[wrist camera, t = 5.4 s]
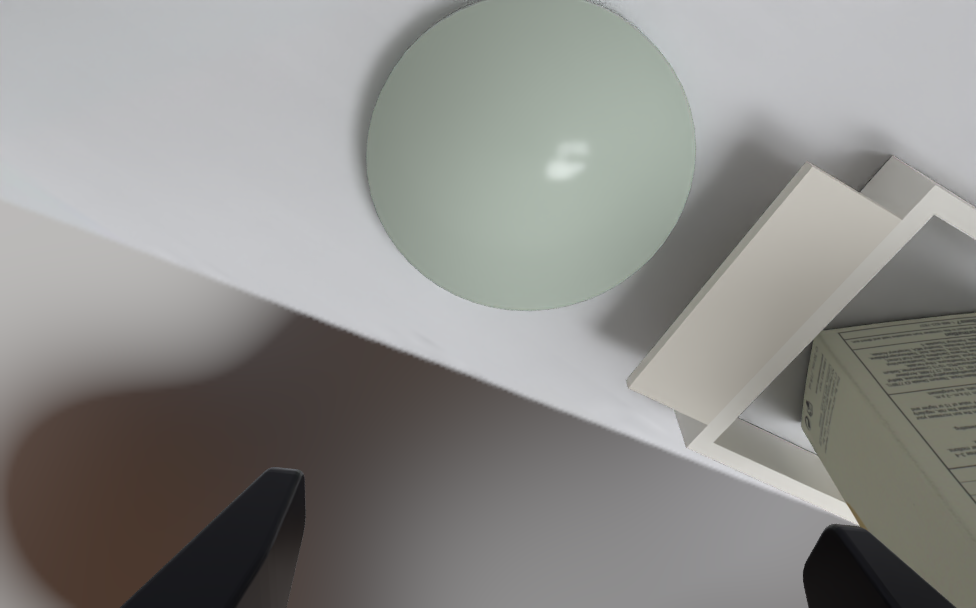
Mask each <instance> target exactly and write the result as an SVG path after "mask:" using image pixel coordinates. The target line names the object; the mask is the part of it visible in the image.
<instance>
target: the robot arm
mask: <svg viewBox="0 0 976 608" xmlns="http://www.w3.org/2000/svg"><path fill="white" fill-rule="evenodd" d="M305 515H306V509H305V477H304V474H303V472H302V471H300V470H297V469H286V468H277V467H272V468H269V469H267V470H266V471H265V472H264V473H262V474H261V476H259V477H258V478H257V479H256V480H255V481H254V482H253V483H252V484H251V485H250V486H249V487H248V488H247V489H245V491H243V492H242V493H241V494H240V495H239V496H238V497H237V498H236V499H235V500H234V501H233V502H232V503H231V504H230V505H229V506H227V507H226V508H225V509H224V510H223V511H222V512H221V513H220V514H219V515H218V516H217V517H216V518H215V519H214V520H213V521H212V522H210V523H209V524H208V525H207V526H206V527H205V528H204V529H203V530H202V531H201V532H200V533H199V534H198V535H197V536H196V537H194V538H193V539H192V540H191V541H190V542H189V543H188V544H187V545H186V546H185V547H184V548H183V549H182V550H181V551H180V552H179V553H178V554H177V555H176V556H175V557H173V558H172V559H171V560H170V561H169V562H168V563H167V564H166V565H165V566H164V567H163V568H162V569H160V570H159V571H158V572H157V573H156V574H155V575H154V576H153V577H152V578H151V579H150V580H149V581H148V582H147V583H146V584H145V585H144V586H142V587H141V588H140V589H139V590H138V591H137V592H136V593H135V594H134V595H133V596H132V597H131V598H130V599H129V600H128V601H126V602H125V603H124V604H123V605H122V606H121V607H120V608H287V603H288V599H289V594H290V590H291V585H292V581H293V577H294V573H295V568H296V564H297V560H298V555H299V551H300V547H301V542H302V538H303V533H304V528H305V518H306V516H305ZM803 583H804V588H805V593H806V598H807V602H808V607H809V608H956V607H955V606H954V605H953V604H952V603H951V602H949V601H948V600H947V599H946V598H945V597H944V596H943V595H941V594H940V593H939V592H938V591H937V590H936V589H935V588H933V587H932V586H931V585H930V584H929V583H928V582H927V581H925V580H924V579H923V578H922V577H921V576H920V575H918V574H917V573H916V572H915V571H914V570H913V569H912V568H910V567H909V566H908V565H907V564H906V563H905V562H904V561H902V560H901V559H900V558H899V557H898V556H897V555H895V554H894V553H893V552H892V551H891V550H890V549H889V548H887V547H886V546H885V545H884V544H883V543H882V542H881V541H879V540H878V539H877V538H876V537H875V536H874V535H872V534H871V533H870V532H869V531H867V530H866V529H864V528H862V527H859V526H850V525H840V524H831V525H829V526H828V527H826V528H825V530H824V531H823V533H822V534H821V536H820V538H819V540H818V541H817V543H816V545H815V547H814V549H813V550H812V552H811V554H810V556H809V557H808V559H807V561H806V563H805V566H804V570H803Z"/></svg>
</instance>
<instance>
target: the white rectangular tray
mask: <svg viewBox="0 0 976 608" xmlns="http://www.w3.org/2000/svg"><path fill="white" fill-rule="evenodd" d="M934 215H935V216H937V217H939V218H940V219H942V220H944V221H945V222H947V223H948V224H950V225H952V226H953V227H955V228H957V229H958V230H960V231H961V232H963V233H965V234H966V235H968V236H970V237H971V238H973V239H975V240H976V207H975V206H973V205H971V204H970V203H968V202H967V201H965V200H963V199H962V198H960V197H959V196H957V195H956V194H954V193H952V192H951V191H949V190H948V189H946V188H944V187H943V186H941V185H940V184H938V183H936V182H935V181H933V180H932V179H930V178H928V177H927V176H925V175H924V174H922V173H921V172H919V171H917V170H916V169H914V168H913V167H911V166H909V165H908V164H906V163H905V162H903V161H901V160H900V159H898V158H897V157H895V156H894V155H893V156H892V157H891V158H890V159H889V160H888V161H887V162H886V163H885V165H884V166H883V167H882V168H881V169H880V170H879V171H878V172H877V174H876V175H875V176H874V177H873V178H872V179H871V180H870V181H869V183H868V184H867V185H866V186H865V187H864V188H863V189H862V190H861V191H860V193H859V192H858V191H856V190H854V189H853V188H851V187H849V186H848V185H846V184H844V183H843V182H841V181H839V180H838V179H836V178H835V177H833V176H831V175H830V174H828V173H826V172H825V171H823V170H821V169H820V168H818V167H816V166H815V165H813V164H811V163H810V162H808V161H806V162H805V164H804V165H803V166H802V167H801V168H800V170H799V171H798V172H797V173H796V174H795V176H794V177H793V178H792V179H791V181H790V182H789V183H788V184H787V185H786V187H785V188H784V189H783V190H782V191H781V193H780V194H779V195H778V196H777V198H776V199H775V200H774V201H773V202H772V204H771V205H770V206H769V207H768V208H767V210H766V211H765V212H764V213H763V215H762V216H761V217H760V218H759V219H758V221H757V222H756V223H755V224H754V225H753V227H752V228H751V229H750V230H749V232H748V233H747V234H746V235H745V236H744V238H743V239H742V240H741V241H740V242H739V244H738V245H737V246H736V247H735V249H734V250H733V251H732V252H731V253H730V255H729V256H728V257H727V258H726V259H725V261H724V262H723V263H722V264H721V265H720V267H719V268H718V269H717V270H716V272H715V273H714V274H713V275H712V276H711V278H710V279H709V280H708V281H707V282H706V284H705V285H704V286H703V287H702V289H701V290H700V291H699V292H698V293H697V295H696V296H695V297H694V298H693V299H692V301H691V302H690V303H689V304H688V306H687V307H686V308H685V309H684V310H683V312H682V313H681V314H680V315H679V316H678V318H677V319H676V320H675V321H674V323H673V324H672V325H671V326H670V327H669V329H668V330H667V331H666V332H665V333H664V335H663V336H662V337H661V338H660V340H659V341H658V342H657V343H656V344H655V346H654V347H653V348H652V349H651V350H650V352H649V353H648V354H647V355H646V356H645V358H644V359H643V360H642V361H641V363H640V364H639V365H638V366H637V367H636V369H635V370H634V371H633V372H632V373H631V375H630V376H629V377H628V378H627V380H626V382H627V386H628V388H629V389H631V390H633V391H635V392H637V393H639V394H641V395H644V396H646V397H648V398H650V399H652V400H654V401H657V402H659V403H661V404H663V405H665V406H667V407H670V408H672V409H674V412H675V415H676V418H677V421H678V424H679V427H680V430H681V433H682V436H683V439H684V442H685V446H686V448H688V449H690V450H692V451H694V452H696V453H699V454H701V455H703V456H705V457H708V458H710V459H712V460H714V461H716V462H719V463H721V464H723V465H725V466H728V467H730V468H732V469H734V470H736V471H739V472H741V473H743V474H745V475H748V476H750V477H752V478H754V479H756V480H759V481H761V482H763V483H765V484H768V485H770V486H772V487H774V488H776V489H779V490H781V491H783V492H785V493H788V494H790V495H792V496H794V497H797V498H799V499H801V500H803V501H805V502H808V503H810V504H812V505H814V506H817V507H819V508H821V509H823V510H825V511H828V512H830V513H832V514H834V515H837V516H839V517H841V518H843V519H845V520H848V521H850V522H852V523H854V524H857V525H859V524H858V522H857V521H856V519H855V517H854V516H853V514H852V512H851V510H850V509H849V507H848V505H847V504H846V502H845V501H844V499H843V497H842V495H841V494H840V492H839V490H838V489H837V487H836V485H835V484H834V482H833V480H832V479H831V477H830V475H829V474H828V472H827V470H826V469H825V467H824V465H823V464H822V462H821V460H820V459H819V457H818V456H817V455H815V454H813V453H811V452H809V451H807V450H805V449H803V448H801V447H798V446H796V445H794V444H792V443H790V442H788V441H786V440H784V439H781V438H779V437H777V436H775V435H773V434H771V433H769V432H767V431H765V430H762V429H760V428H758V427H756V426H754V425H752V424H750V423H748V422H746V421H743V420H741V419H739V418H738V416H739V415H740V414H741V413H742V412H743V411H744V410H745V409H746V408H747V407H748V406H749V405H750V404H751V403H752V402H753V401H754V400H755V399H756V398H757V397H758V396H759V395H760V394H761V393H762V392H763V391H764V390H765V389H766V388H767V387H768V386H769V385H770V384H771V382H772V381H773V380H774V379H775V378H776V377H777V376H778V375H779V374H780V373H781V372H782V371H783V370H784V369H785V368H786V367H787V366H788V365H789V364H790V363H791V362H792V361H793V360H794V359H795V358H796V357H797V356H798V355H799V354H800V353H801V352H802V351H803V350H804V348H805V347H806V346H807V345H808V344H809V343H810V342H811V341H812V340H813V339H814V338H815V337H816V336H817V335H818V334H819V333H820V332H821V331H822V330H823V329H824V328H825V327H826V326H827V325H828V324H829V323H830V322H831V321H832V320H833V319H834V318H835V317H836V315H837V314H838V313H839V312H840V311H841V310H842V309H843V308H844V307H845V306H846V305H847V304H848V303H849V302H850V301H851V300H852V299H853V298H854V297H855V296H856V295H857V294H858V293H859V292H860V291H861V290H862V289H863V288H864V287H865V286H866V285H867V284H868V283H869V281H870V280H871V279H872V278H873V277H874V276H875V275H876V274H877V273H878V272H879V271H880V270H881V269H882V268H883V267H884V266H885V265H886V264H887V263H888V262H889V261H890V260H891V259H892V258H893V257H894V256H895V255H896V254H897V253H898V252H899V251H900V250H901V249H902V247H903V246H904V245H905V244H906V243H907V242H908V241H909V240H910V239H911V238H912V237H913V236H914V235H915V234H916V233H917V232H918V231H919V230H920V229H921V228H922V227H923V226H924V225H925V224H926V223H927V222H928V221H929V220H930V219H931V218H932V217H933V216H934Z"/></svg>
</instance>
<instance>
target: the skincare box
mask: <svg viewBox="0 0 976 608" xmlns="http://www.w3.org/2000/svg"><path fill="white" fill-rule="evenodd" d="M801 427H802V430H803V431H804V433H805V435H806V436H807V438H808V440H809V441H810V443H811V445H812V446H813V448H814V450H815V452H816V453H817V455H818V457H819V459H820V460H821V462H822V464H823V465H824V467H825V469H826V470H827V472H828V474H829V475H830V477H831V479H832V480H833V482H834V484H835V485H836V487H837V489H838V490H839V492H840V494H841V495H842V497H843V499H844V501H845V502H846V504H847V505H848V507H849V509H850V510H851V512H852V514H853V516H854V517H855V519H856V521H857V522H858V524H859V526H860V527H862V528H864V529H866V530H867V531H869V532H870V533H871V534H872V535H874V536H875V537H876V538H877V539H878V540H879V541H881V542H882V543H883V544H884V545H885V546H886V547H887V548H889V549H890V550H891V551H892V552H893V553H894V554H895V555H897V556H898V557H899V558H900V559H901V560H902V561H904V562H905V563H906V564H907V565H908V566H909V567H910V568H912V569H913V570H914V571H915V572H916V573H917V574H918V575H920V576H921V577H922V578H923V579H924V580H925V581H927V582H928V583H929V584H930V585H931V586H932V587H933V588H935V589H936V590H937V591H938V592H939V593H940V594H941V595H943V596H944V597H945V598H946V599H947V600H948V601H949V602H951V603H952V604H953V605H954V606H955V607H956V608H976V313H969V314H957V315H948V316H940V317H929V318H920V319H911V320H902V321H893V322H886V323H878V324H870V325H862V326H854V327H847V328H839V329H831V330H824V331H821V332H820V333H819V334H818V335H817V336H816V337H815V338H814V339H813V345H812V351H811V356H810V361H809V367H808V373H807V379H806V386H805V393H804V401H803V410H802V422H801Z"/></svg>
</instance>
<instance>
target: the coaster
mask: <svg viewBox="0 0 976 608" xmlns="http://www.w3.org/2000/svg"><path fill="white" fill-rule="evenodd" d="M695 154H696V143H695V129H694V124H693V119H692V114H691V110H690V106H689V103H688V100H687V98H686V95H685V92H684V90H683V87H682V85H681V83H680V81H679V79H678V78H677V76H676V74H675V72H674V70H673V69H672V67H671V65H670V64H669V63H668V61H667V60H666V59H665V58H664V56H663V55H662V54H661V52H660V51H659V50H658V48H657V47H656V46H655V45H654V44H653V43H652V42H651V41H650V40H649V39H648V38H647V37H646V36H645V35H644V34H643V33H642V32H641V31H640V30H638V29H637V28H636V27H635V26H633V25H632V24H631V23H629V22H628V21H626V20H625V19H624V18H622V17H621V16H619V15H618V14H616V13H614V12H612V11H610V10H608V9H606V8H604V7H602V6H600V5H598V4H596V3H593V2H590V1H587V0H480V1H478V2H475V3H473V4H470V5H468V6H465V7H463V8H461V9H459V10H457V11H455V12H454V13H452V14H450V15H448V16H447V17H445V18H443V19H441V20H440V21H439V22H437V23H436V24H435V25H433V26H432V27H431V28H430V29H428V30H427V31H426V32H424V33H423V34H422V35H421V36H420V37H419V38H418V39H417V40H416V41H415V42H414V43H413V44H412V45H411V46H410V47H409V48H408V49H407V51H406V52H405V53H404V55H403V56H402V57H401V59H400V60H399V62H398V63H397V64H396V66H395V67H394V68H393V70H392V72H391V73H390V75H389V77H388V79H387V81H386V83H385V85H384V86H383V88H382V90H381V92H380V94H379V97H378V100H377V102H376V105H375V108H374V110H373V113H372V117H371V122H370V126H369V131H368V137H367V149H366V164H367V177H368V182H369V188H370V193H371V197H372V200H373V203H374V206H375V209H376V212H377V215H378V217H379V219H380V221H381V223H382V225H383V227H384V229H385V231H386V233H387V234H388V236H389V237H390V239H391V240H392V242H393V243H394V245H395V246H396V248H397V249H398V250H399V251H400V252H401V254H402V255H403V256H404V257H405V258H406V259H407V261H408V262H409V263H410V264H411V265H413V266H414V267H415V268H416V269H417V270H418V271H419V272H420V273H421V274H422V275H424V276H425V277H426V278H428V279H429V280H431V281H432V282H434V283H435V284H436V285H438V286H439V287H441V288H443V289H445V290H447V291H449V292H450V293H452V294H454V295H456V296H459V297H461V298H464V299H466V300H469V301H471V302H474V303H477V304H481V305H485V306H488V307H493V308H499V309H506V310H518V311H536V310H549V309H554V308H560V307H566V306H569V305H573V304H576V303H579V302H583V301H586V300H588V299H591V298H593V297H595V296H598V295H600V294H602V293H604V292H606V291H608V290H610V289H612V288H613V287H615V286H617V285H619V284H620V283H622V282H623V281H624V280H626V279H627V278H629V277H630V276H631V275H633V274H634V273H636V272H637V271H638V270H639V269H640V268H641V267H642V266H643V265H644V264H645V263H646V262H648V261H649V260H650V259H651V258H652V256H653V255H654V254H655V253H656V252H657V251H658V250H659V248H660V247H661V246H662V245H663V244H664V242H665V241H666V239H667V238H668V236H669V235H670V233H671V232H672V230H673V229H674V227H675V225H676V223H677V221H678V219H679V217H680V215H681V213H682V211H683V209H684V206H685V203H686V201H687V198H688V195H689V192H690V189H691V184H692V179H693V174H694V169H695Z"/></svg>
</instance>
